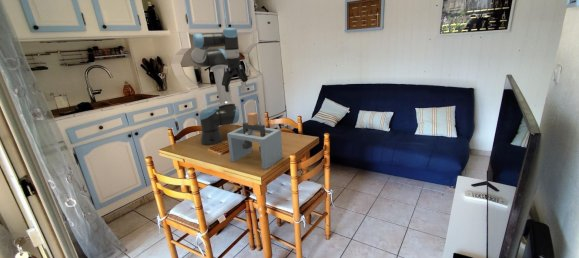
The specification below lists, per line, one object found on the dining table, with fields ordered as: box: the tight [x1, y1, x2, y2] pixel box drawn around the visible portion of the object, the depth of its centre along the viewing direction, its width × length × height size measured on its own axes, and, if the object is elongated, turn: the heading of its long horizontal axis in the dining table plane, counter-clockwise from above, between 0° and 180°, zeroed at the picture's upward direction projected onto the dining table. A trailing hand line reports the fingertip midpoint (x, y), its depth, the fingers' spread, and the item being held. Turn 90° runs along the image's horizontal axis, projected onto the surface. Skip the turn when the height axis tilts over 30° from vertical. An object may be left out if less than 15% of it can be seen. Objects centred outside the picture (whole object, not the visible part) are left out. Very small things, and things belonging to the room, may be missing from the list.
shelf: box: [226, 126, 284, 170], centre depth 157 cm, size 25×17×17 cm
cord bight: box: [242, 112, 266, 153], centre depth 154 cm, size 15×5×21 cm, turn 60°
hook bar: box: [245, 130, 260, 136], centre depth 154 cm, size 2×13×2 cm, turn 149°
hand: (236, 94), depth 160 cm, fingers open, 13 cm apart
